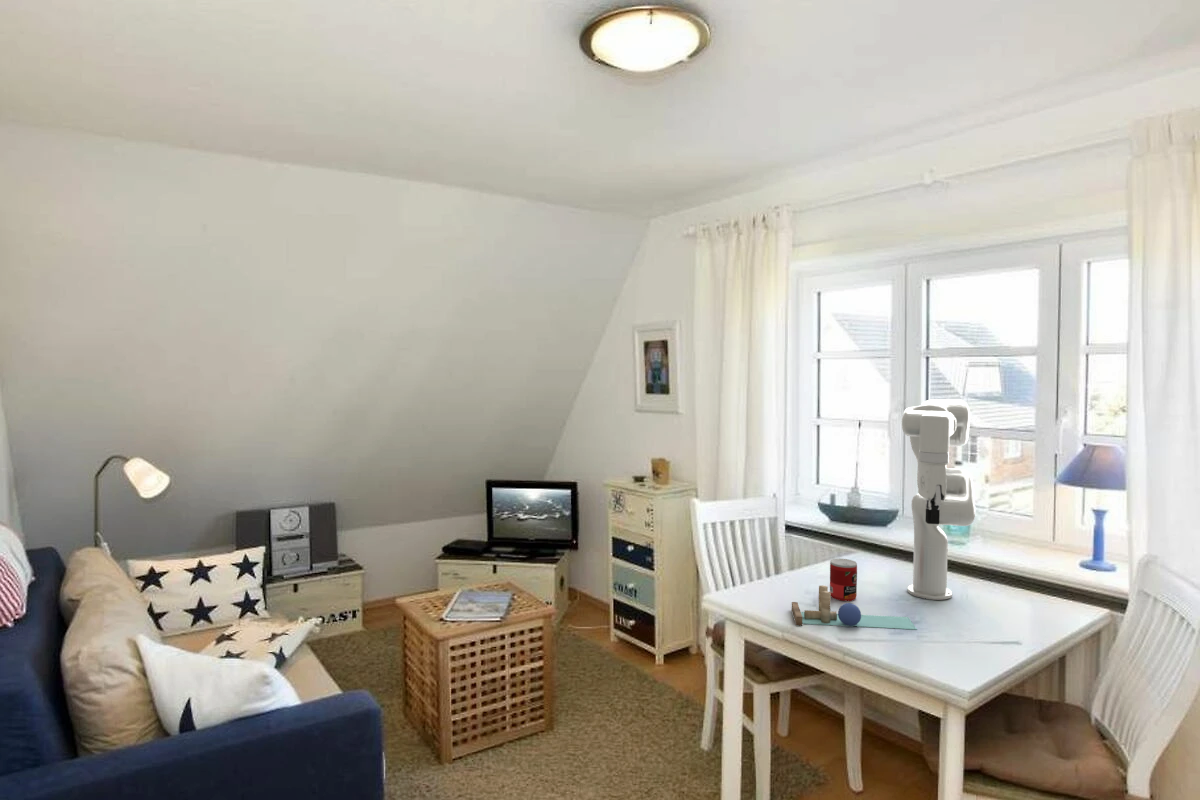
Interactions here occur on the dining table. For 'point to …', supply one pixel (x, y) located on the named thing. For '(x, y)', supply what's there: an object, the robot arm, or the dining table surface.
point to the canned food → (843, 579)
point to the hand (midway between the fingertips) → (932, 523)
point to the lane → (869, 622)
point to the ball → (849, 614)
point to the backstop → (797, 613)
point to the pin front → (818, 615)
